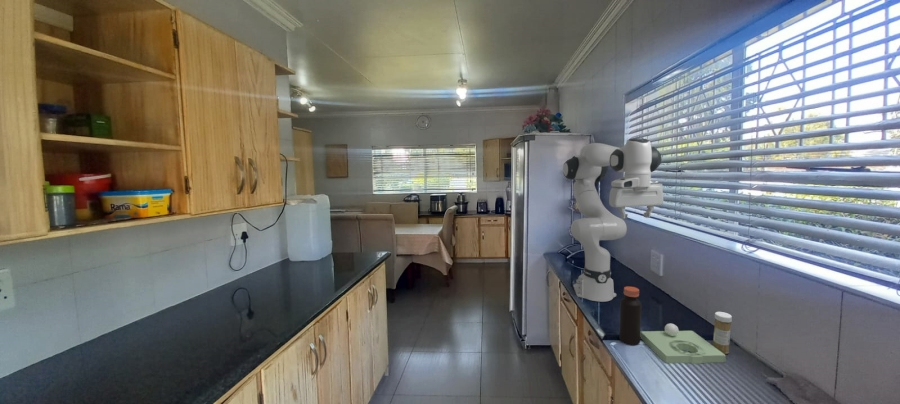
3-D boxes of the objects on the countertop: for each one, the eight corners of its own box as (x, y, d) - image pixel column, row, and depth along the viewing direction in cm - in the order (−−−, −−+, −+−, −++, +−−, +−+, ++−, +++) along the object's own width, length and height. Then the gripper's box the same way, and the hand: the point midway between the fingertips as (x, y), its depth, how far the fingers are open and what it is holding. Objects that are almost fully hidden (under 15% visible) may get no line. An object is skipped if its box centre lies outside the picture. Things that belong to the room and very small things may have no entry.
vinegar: (631, 335, 129) (633, 284, 127) (644, 344, 123) (646, 291, 120) (615, 337, 128) (616, 286, 126) (627, 346, 121) (629, 293, 119)
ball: (661, 332, 126) (662, 321, 125) (673, 332, 126) (674, 321, 125) (668, 338, 122) (669, 327, 121) (681, 338, 121) (681, 326, 121)
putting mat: (640, 337, 127) (640, 331, 127) (691, 337, 127) (692, 330, 126) (667, 364, 111) (667, 356, 110) (726, 363, 110) (726, 356, 110)
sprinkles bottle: (716, 346, 120) (719, 310, 119) (731, 352, 116) (734, 315, 115) (709, 349, 118) (712, 312, 117) (724, 356, 114) (727, 318, 113)
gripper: (656, 180, 132) (654, 215, 134) (607, 182, 130) (606, 217, 131) (668, 181, 126) (666, 218, 128) (617, 183, 123) (616, 220, 125)
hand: (635, 218), depth 129 cm, fingers open, 8 cm apart
